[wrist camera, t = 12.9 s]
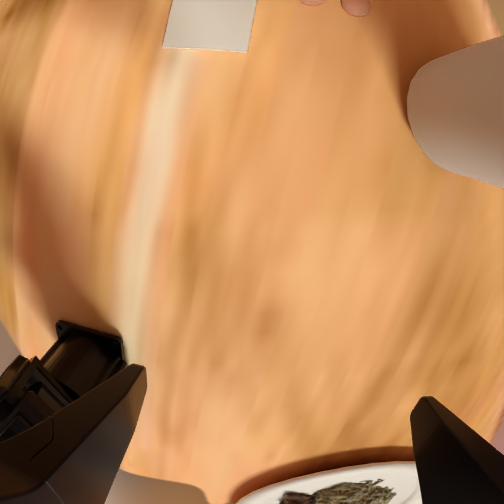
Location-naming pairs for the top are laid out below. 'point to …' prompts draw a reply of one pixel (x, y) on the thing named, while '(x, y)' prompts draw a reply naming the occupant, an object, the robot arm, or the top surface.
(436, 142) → the can
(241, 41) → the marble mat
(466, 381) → the top surface
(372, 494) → the plated food
